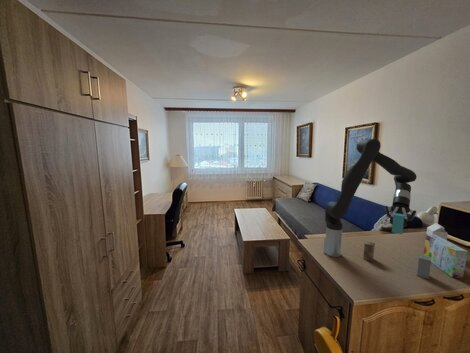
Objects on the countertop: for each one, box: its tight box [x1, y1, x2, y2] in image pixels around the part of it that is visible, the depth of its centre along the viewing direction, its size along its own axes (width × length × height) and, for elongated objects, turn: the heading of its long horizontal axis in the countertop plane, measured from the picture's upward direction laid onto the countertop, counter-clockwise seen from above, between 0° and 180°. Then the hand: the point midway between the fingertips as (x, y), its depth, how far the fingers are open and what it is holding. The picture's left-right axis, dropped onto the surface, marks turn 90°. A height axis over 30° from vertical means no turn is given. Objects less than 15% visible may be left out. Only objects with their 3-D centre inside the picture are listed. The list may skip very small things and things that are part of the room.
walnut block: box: [362, 240, 376, 262], centre depth 120 cm, size 4×4×10 cm
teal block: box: [391, 213, 405, 235], centre depth 109 cm, size 4×4×10 cm
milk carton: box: [425, 222, 448, 241], centre depth 127 cm, size 7×7×19 cm
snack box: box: [423, 234, 469, 279], centre depth 111 cm, size 21×6×15 cm, turn 168°
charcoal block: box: [416, 254, 432, 280], centre depth 104 cm, size 4×4×10 cm
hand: (397, 224), depth 108 cm, fingers closed on teal block, 4 cm apart
